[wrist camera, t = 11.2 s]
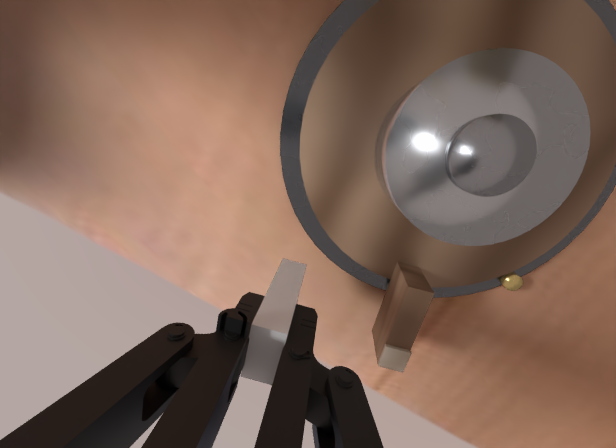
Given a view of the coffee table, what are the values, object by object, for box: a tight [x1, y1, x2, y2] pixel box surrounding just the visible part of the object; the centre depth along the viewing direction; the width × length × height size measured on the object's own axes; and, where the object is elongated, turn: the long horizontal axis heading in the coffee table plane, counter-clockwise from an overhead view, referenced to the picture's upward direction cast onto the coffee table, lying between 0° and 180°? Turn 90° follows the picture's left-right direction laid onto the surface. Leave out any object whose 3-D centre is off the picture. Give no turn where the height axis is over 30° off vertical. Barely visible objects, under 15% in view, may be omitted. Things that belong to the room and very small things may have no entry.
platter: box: [300, 0, 616, 372], centre depth 17 cm, size 19×24×5 cm
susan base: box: [280, 0, 616, 298], centre depth 19 cm, size 22×22×1 cm
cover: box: [374, 48, 590, 246], centre depth 16 cm, size 9×9×5 cm
